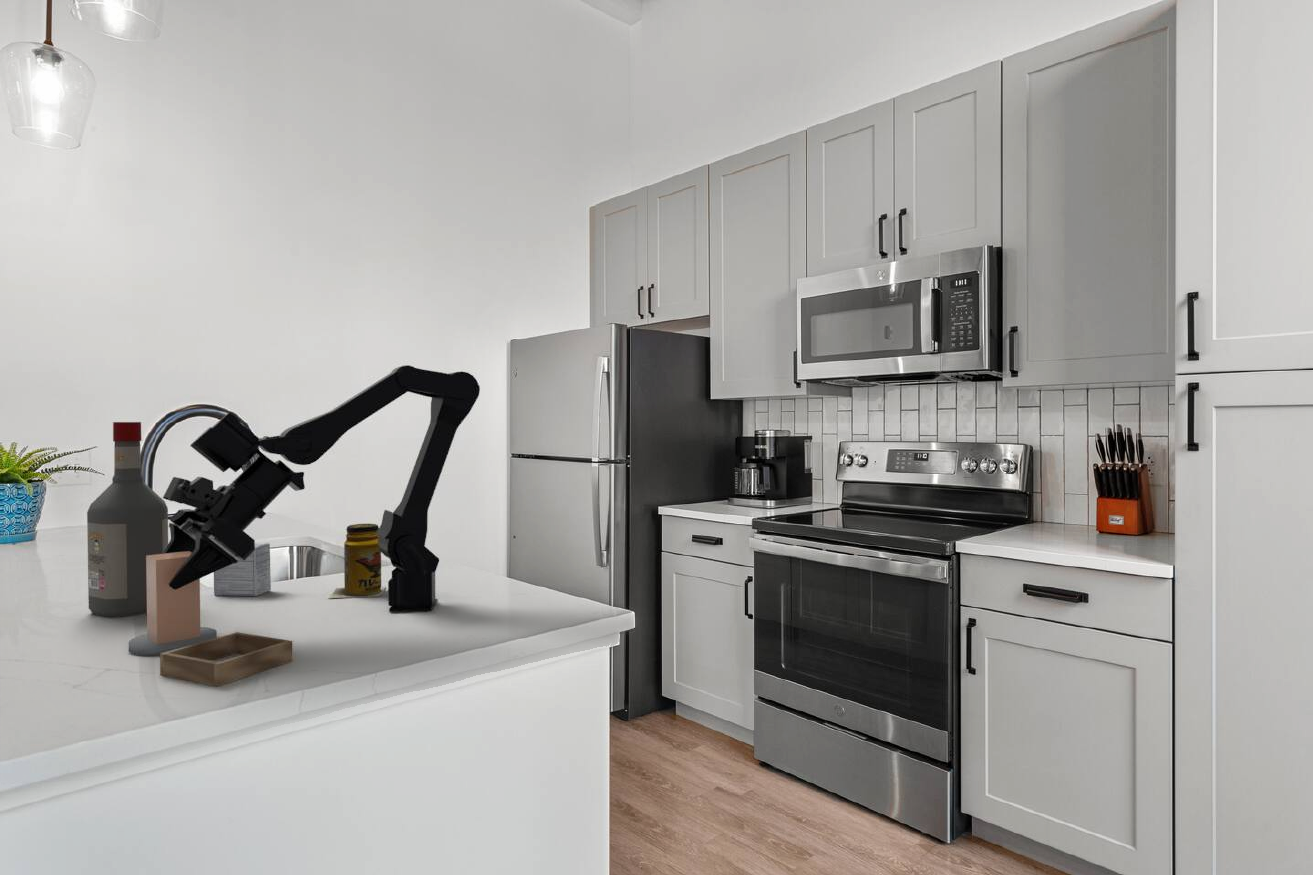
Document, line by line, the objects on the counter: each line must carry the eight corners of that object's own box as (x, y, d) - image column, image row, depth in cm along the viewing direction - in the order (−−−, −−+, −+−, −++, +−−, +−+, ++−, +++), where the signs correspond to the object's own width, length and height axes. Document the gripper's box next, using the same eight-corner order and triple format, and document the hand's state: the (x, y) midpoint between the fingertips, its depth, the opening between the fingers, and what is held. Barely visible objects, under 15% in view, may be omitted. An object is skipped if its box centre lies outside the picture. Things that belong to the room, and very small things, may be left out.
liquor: (113, 619, 114) (110, 422, 114) (82, 612, 118) (79, 422, 118) (175, 606, 122) (173, 422, 122) (144, 600, 127) (141, 422, 126)
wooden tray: (237, 651, 98) (236, 632, 98) (292, 660, 94) (292, 640, 94) (160, 674, 89) (159, 653, 89) (217, 686, 85) (217, 664, 85)
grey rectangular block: (271, 591, 134) (271, 542, 133) (255, 597, 129) (255, 546, 129) (230, 590, 134) (229, 541, 134) (212, 596, 130) (212, 546, 130)
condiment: (380, 596, 129) (380, 527, 129) (327, 599, 127) (327, 528, 127) (386, 587, 136) (385, 521, 136) (336, 590, 135) (335, 523, 134)
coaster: (229, 632, 107) (229, 625, 107) (194, 654, 97) (194, 646, 97) (154, 634, 106) (154, 627, 106) (111, 656, 96) (111, 649, 96)
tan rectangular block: (189, 629, 105) (188, 550, 105) (200, 636, 101) (199, 555, 101) (147, 636, 101) (146, 555, 101) (157, 644, 98) (155, 560, 98)
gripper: (185, 453, 110) (93, 537, 102) (227, 457, 97) (126, 553, 90) (244, 503, 116) (162, 585, 108) (291, 513, 103) (201, 607, 95)
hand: (161, 582), depth 100 cm, fingers open, 9 cm apart
